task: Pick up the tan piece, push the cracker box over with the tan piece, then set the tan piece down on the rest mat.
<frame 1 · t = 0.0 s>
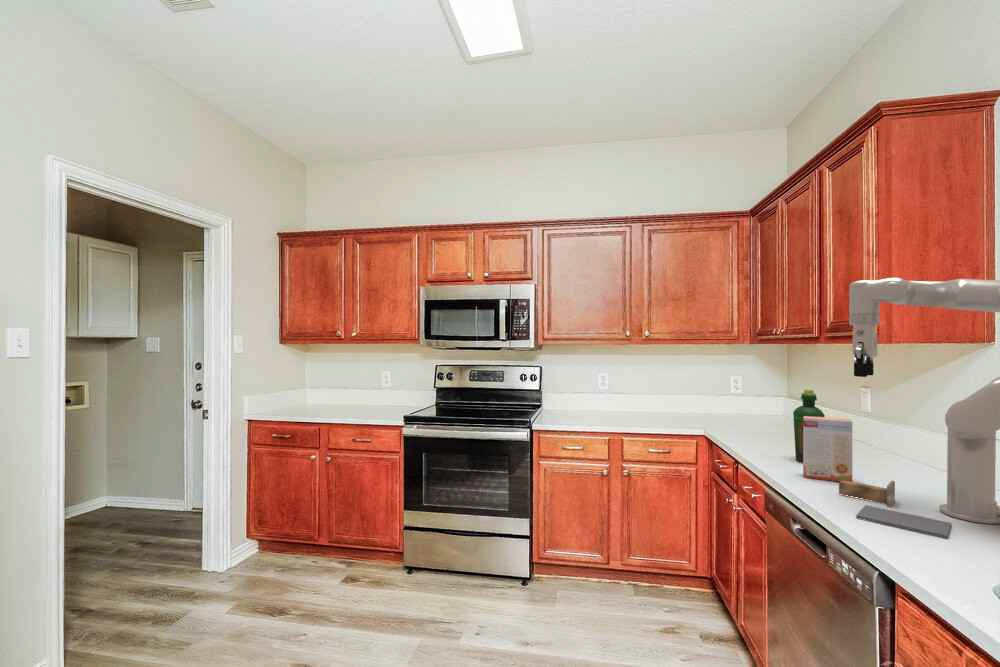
hand: (863, 375, 151), 37 cm above the countertop, tool pointing down, fingers open, 9 cm apart
tan piece: (876, 501, 145), on the countertop
cracker box: (826, 479, 168), on the countertop
bottle: (808, 462, 191), on the countertop
rest mat: (902, 522, 128), on the countertop
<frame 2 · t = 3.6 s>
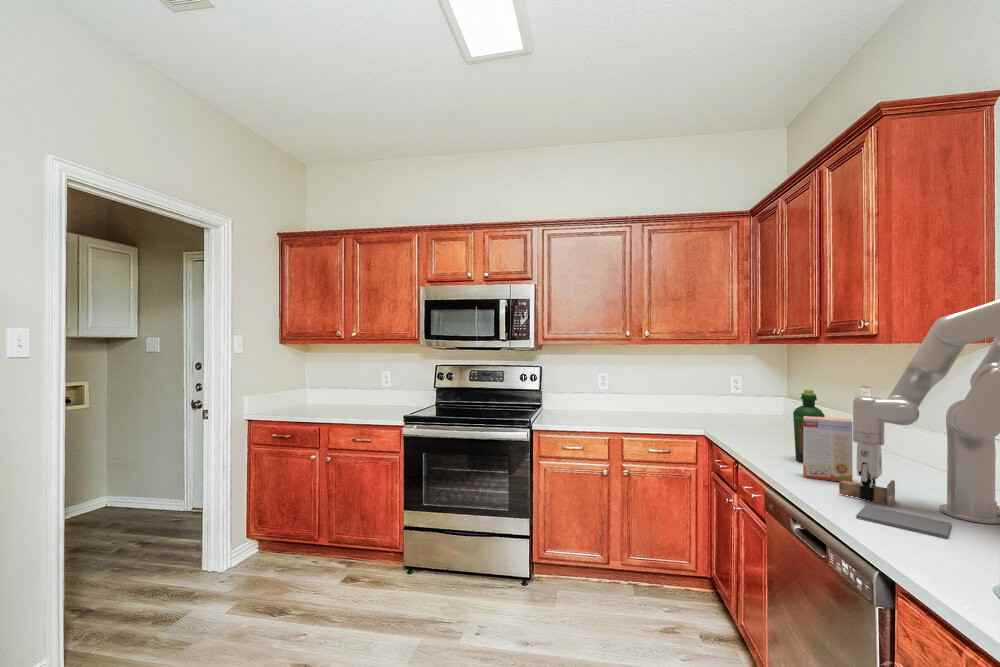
hand: (868, 498, 146), 0 cm above the countertop, tool pointing down, fingers closed on tan piece, 2 cm apart
tan piece: (876, 501, 145), on the countertop, touching gripper
everything else where it was.
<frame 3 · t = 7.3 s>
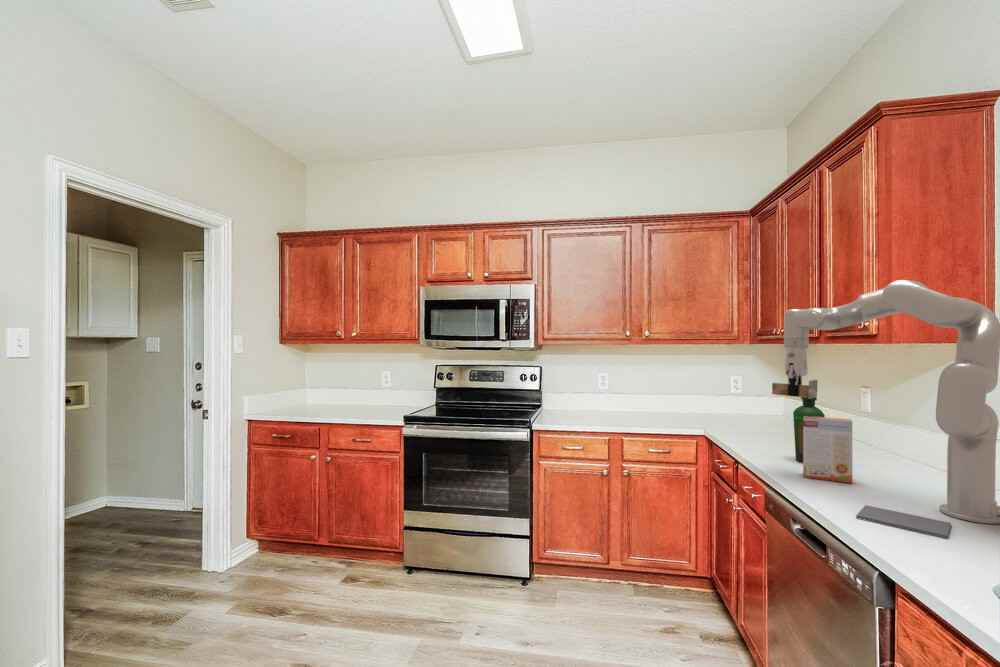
hand: (794, 395, 173), 28 cm above the countertop, tool pointing down, fingers closed on tan piece, 3 cm apart
tan piece: (801, 396, 171), point 28 cm above the countertop, touching gripper
everything else where it was.
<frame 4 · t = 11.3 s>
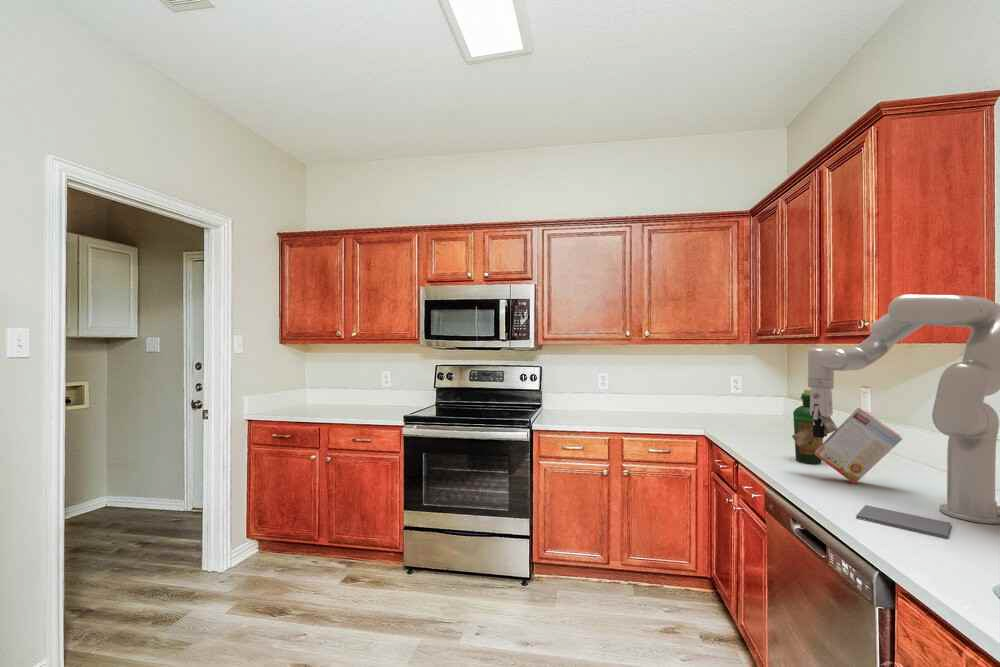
hand: (820, 436, 169), 14 cm above the countertop, tool pointing down, fingers closed on tan piece, 3 cm apart
tan piece: (824, 435, 168), point 15 cm above the countertop, tilted 33°, touching cracker box, gripper
cracker box: (833, 467, 166), point 4 cm above the countertop, touching tan piece
everything else where it was.
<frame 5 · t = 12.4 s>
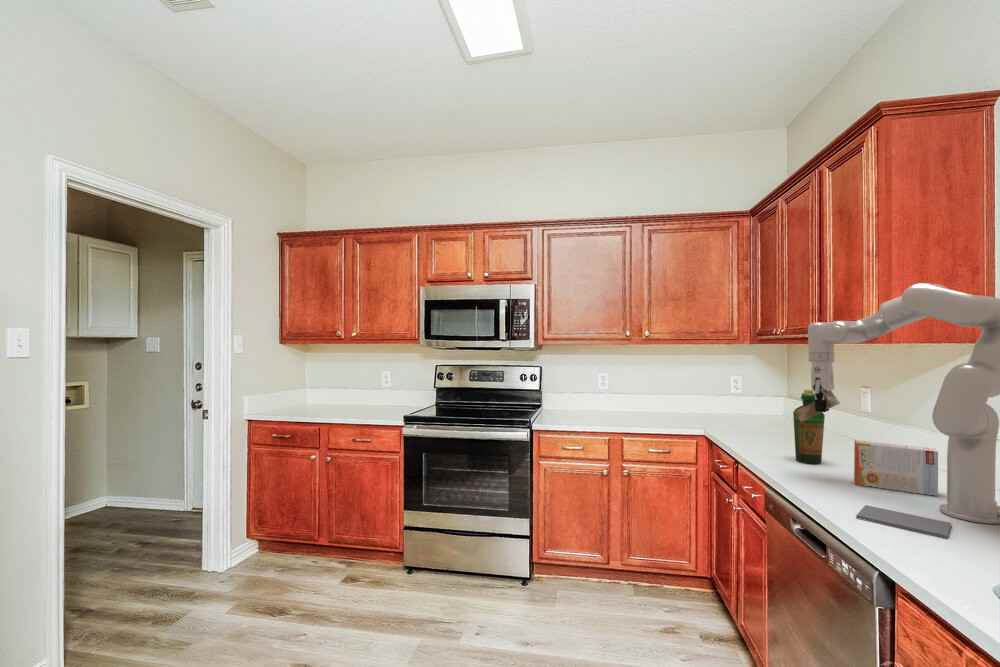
hand: (822, 410, 169), 23 cm above the countertop, tool pointing down, fingers closed on tan piece, 3 cm apart
tan piece: (826, 409, 168), point 24 cm above the countertop, tilted 35°, touching gripper
cracker box: (853, 461, 164), point 7 cm above the countertop
everything else where it was.
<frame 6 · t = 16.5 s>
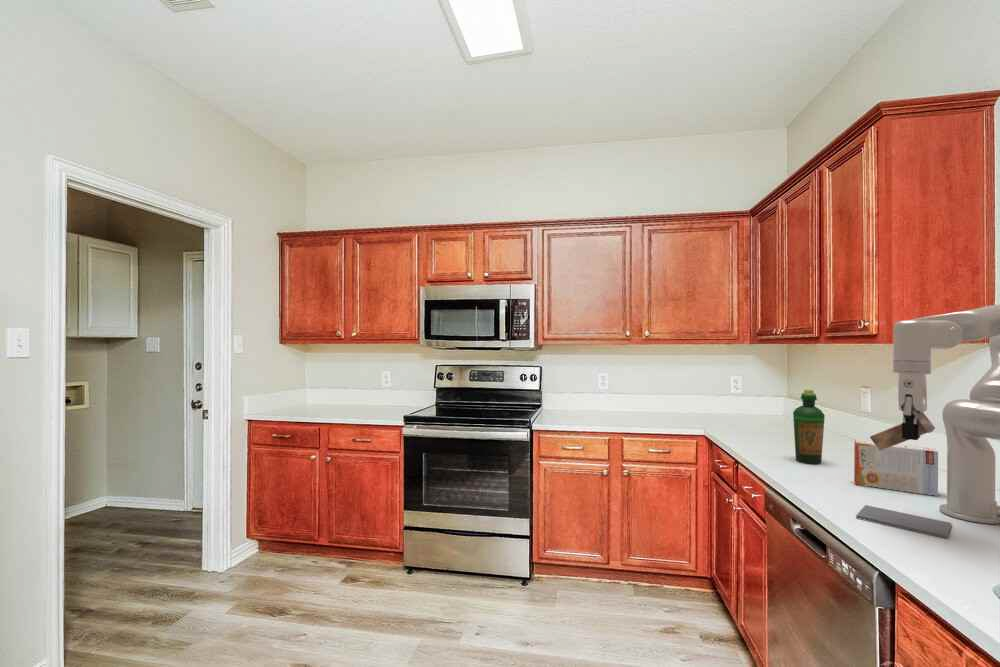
hand: (911, 437, 127), 22 cm above the countertop, tool pointing down, fingers closed on tan piece, 3 cm apart
tan piece: (917, 436, 126), point 23 cm above the countertop, tilted 33°, touching gripper
everything else where it was.
when the fingers open (2 cm above the countertop, at t = 20.2 s): tan piece drops 1 cm, resting on rest mat.
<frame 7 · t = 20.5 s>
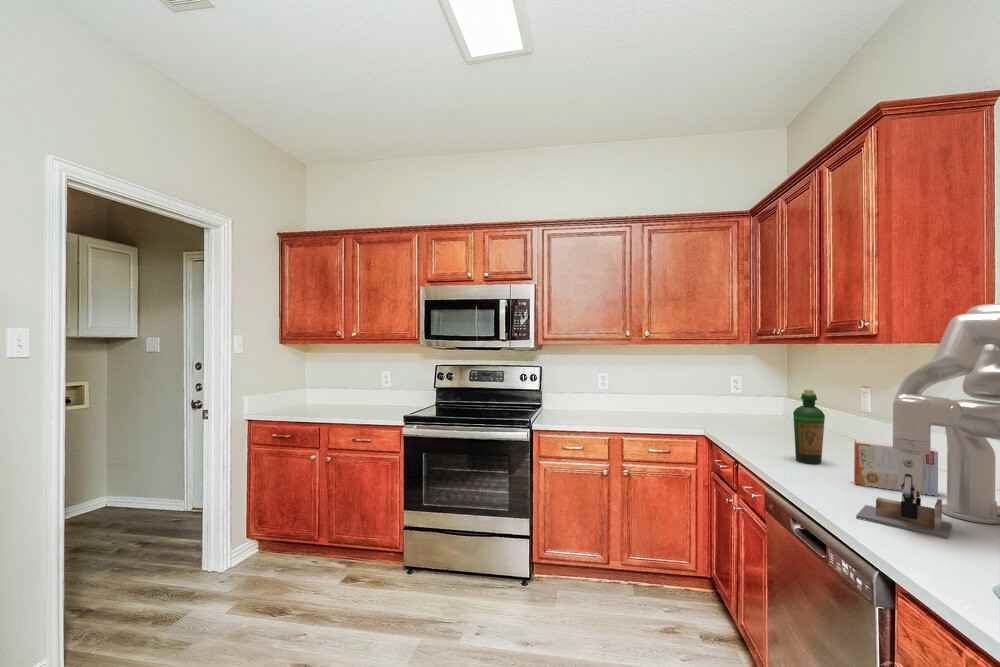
hand: (910, 514, 127), 3 cm above the countertop, tool pointing down, fingers open, 5 cm apart
tan piece: (920, 522, 126), point 1 cm above the countertop, touching rest mat
everything else where it was.
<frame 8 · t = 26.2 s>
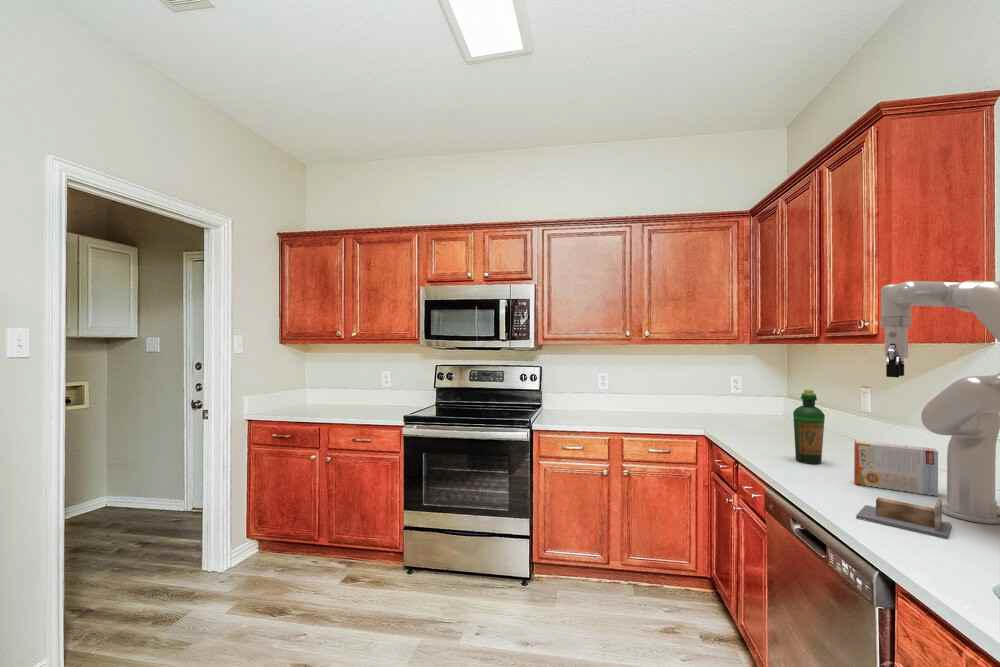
hand: (895, 376, 156), 36 cm above the countertop, tool pointing down, fingers open, 9 cm apart
nothing on the countertop moved.
at the end: cracker box tilted 91°; tan piece inside the target area on the rest mat (1.5 cm from its centre), point 0.8 cm above the rest mat's base; the gripper is holding nothing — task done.
